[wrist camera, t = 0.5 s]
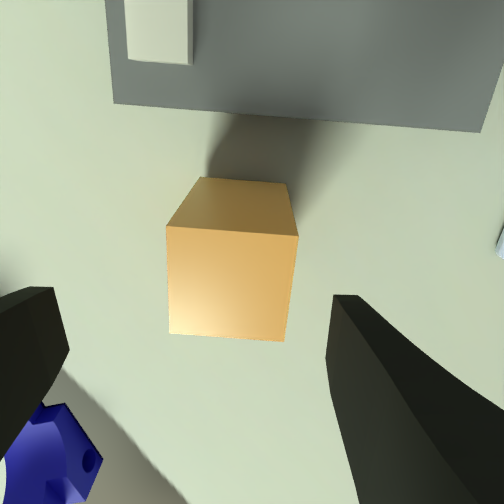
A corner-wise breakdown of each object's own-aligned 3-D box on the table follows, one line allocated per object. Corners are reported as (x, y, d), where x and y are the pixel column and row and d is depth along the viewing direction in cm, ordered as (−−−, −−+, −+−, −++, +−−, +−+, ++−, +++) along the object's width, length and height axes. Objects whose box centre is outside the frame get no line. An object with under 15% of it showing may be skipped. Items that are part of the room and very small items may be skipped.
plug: (285, 180, 17) (298, 236, 11) (276, 255, 19) (284, 341, 12) (202, 173, 17) (165, 225, 11) (201, 249, 19) (169, 333, 12)
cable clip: (103, 458, 26) (62, 555, 21) (50, 467, 27) (-3, 563, 22) (18, 333, 22) (-65, 416, 16) (-45, 347, 22) (-144, 432, 17)
